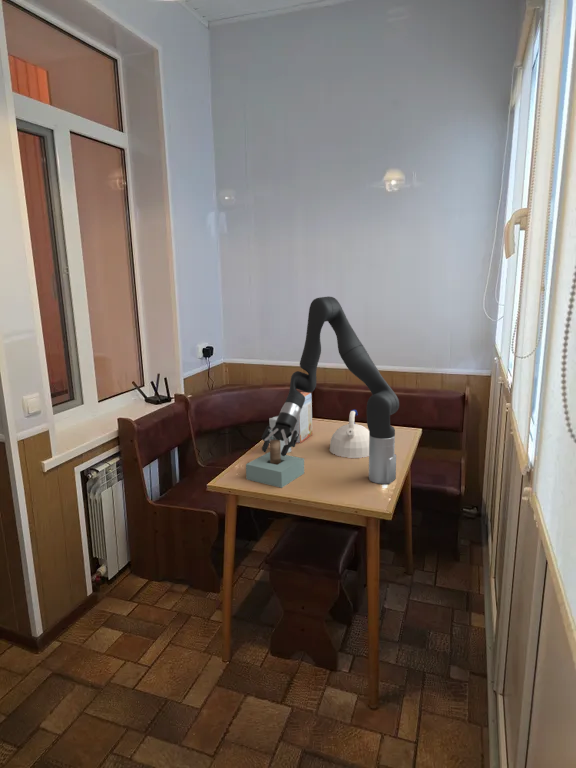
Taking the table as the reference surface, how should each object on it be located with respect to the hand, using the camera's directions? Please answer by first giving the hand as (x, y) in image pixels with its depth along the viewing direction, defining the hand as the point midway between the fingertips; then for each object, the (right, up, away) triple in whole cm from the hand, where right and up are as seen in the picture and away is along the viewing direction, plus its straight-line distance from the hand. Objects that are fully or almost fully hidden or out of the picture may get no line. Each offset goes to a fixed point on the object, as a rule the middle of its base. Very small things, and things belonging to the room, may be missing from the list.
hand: (273, 453), depth 194 cm
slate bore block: (+1, -9, +3) cm, 10 cm away
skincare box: (+2, -3, +31) cm, 31 cm away
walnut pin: (+1, -8, +3) cm, 9 cm away
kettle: (+34, -3, +30) cm, 45 cm away
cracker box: (+12, 0, +47) cm, 49 cm away
